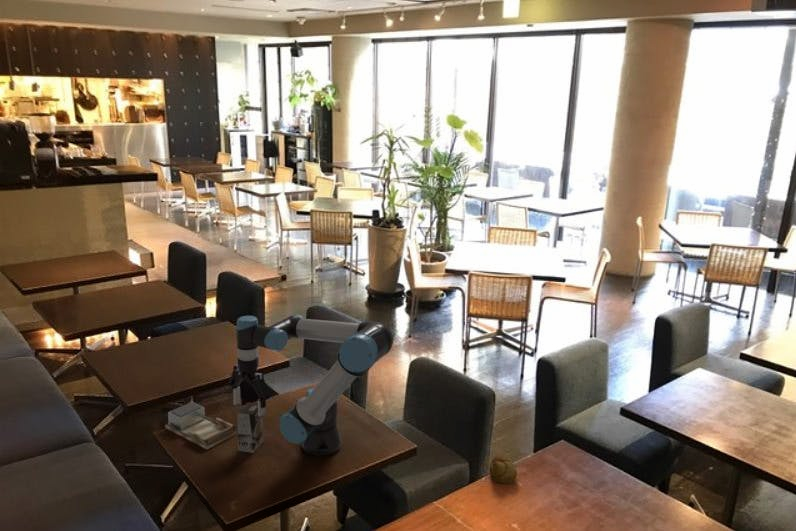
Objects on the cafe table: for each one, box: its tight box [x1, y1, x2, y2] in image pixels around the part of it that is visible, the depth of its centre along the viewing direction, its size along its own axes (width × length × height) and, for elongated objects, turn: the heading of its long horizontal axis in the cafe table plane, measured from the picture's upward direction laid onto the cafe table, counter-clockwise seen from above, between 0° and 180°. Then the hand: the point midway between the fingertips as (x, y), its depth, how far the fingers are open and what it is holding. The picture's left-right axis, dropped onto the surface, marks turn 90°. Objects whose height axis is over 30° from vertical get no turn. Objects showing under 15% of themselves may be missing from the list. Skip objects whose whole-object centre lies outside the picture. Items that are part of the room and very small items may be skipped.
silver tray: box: [164, 415, 237, 450], centre depth 244 cm, size 26×14×4 cm, turn 55°
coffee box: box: [236, 402, 264, 454], centre depth 233 cm, size 9×6×16 cm
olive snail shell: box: [488, 454, 518, 485], centre depth 220 cm, size 13×10×8 cm
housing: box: [167, 401, 206, 430], centre depth 248 cm, size 8×12×5 cm
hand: (249, 409), depth 231 cm, fingers open, 13 cm apart
